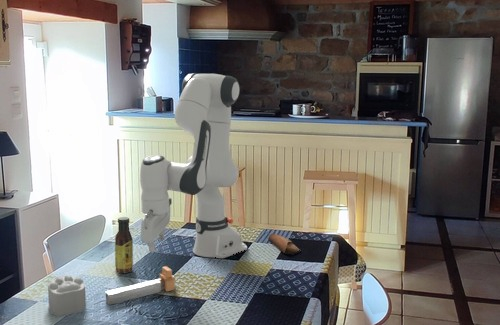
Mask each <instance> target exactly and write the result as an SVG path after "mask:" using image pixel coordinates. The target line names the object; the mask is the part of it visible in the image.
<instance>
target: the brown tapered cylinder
mask: <svg viewBox="0 0 500 325" xmlns="http://www.w3.org/2000/svg"><path fill="white" fill-rule="evenodd" d="M267 238H268V242H270V243H272V244H273V245H274V246H275V247H276V248H278V249H279V250H280V251H281V252H282V253H283V254H284V253H292V252H297V251H299V250H300V248H298V247H297V246H296V244H294V243H293V241H292V240H291V239H289V238H286V237H284V236H282V235H279V234H276V233H271V234H270V235H269V236H268V237H267Z"/></svg>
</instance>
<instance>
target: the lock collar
mask: <svg viewBox="0 0 500 325" xmlns="http://www.w3.org/2000/svg"><path fill="white" fill-rule="evenodd" d="M158 275H159V276H158V279H160V278H163V279H164V280H165V289H164V290H165V292H170V291H175V289H176V288H175V286H176V283H175V282H176V280H175V278H176V277H174V276H175V275H173V270H172V269H171V268H169V267H168V266H167V265H166V266H165V265H164V266H162V267H161V273H159V274H158ZM172 275H173V276H172Z"/></svg>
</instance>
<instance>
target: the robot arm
mask: <svg viewBox="0 0 500 325" xmlns="http://www.w3.org/2000/svg"><path fill="white" fill-rule="evenodd" d="M239 95H240V83H239V81H238V79H237V78H236V77H233V76H231V75H223V74H218V73H196V72H194V73H193V72H192V73H188V74H187V75H186V76H185V77H184V78H183V80H182V83H181V94H180V96H179V99H178V101H177V105H176V107H175V108H174V109H175V110H174V120H175V123H176V124H177V126H178V127H179V128H180V129H181V130H182V131H184V132H185V133H187V134H189V135H190V136H192V137H193V139H194V142H193V149H192V155H191V156H190V157H188V158H187V160H186V162H184V163H183V162H177V161H171V160H168V159H166V158H165V156H163V155H161V154H160V155H159V154H158V155H157V154H154V155H149V156H146V157H144V158H143V159H142V161H141V164H140V170H139V171H140V173H139V176H140V178H139V180H140V181H139V182H140V189H141V194H140V201H141V202H140V203H141V204H140V205H141V207H140V208H141V212H142V214H145V215H144V217H143V218H142V219H141V224H140V225H141V226H140V238H141V239H140V240H141V242H142V243H147V246H148V251H149V253H154V252H155V251H156V250H157V249H156V247H157V246H156V245H155V240H156V239H157V241H158V242H163V241H164V240H165V232H166V227H167V226H168V225H169V224H170V221H171V205H172V204H173V201H172V200H173V199H172V198H171V197H170V196H169V193H168V191H172V192H177V193H183V194H186V195H189V196H195V198H196V218H195V232H196V234H195V240H194V245H193V248H192V253H193V254H195V255H196V256H198V257H204V258H215V257H216V259H225V258H228V257H230V256H234V255H236V253H237V254H239V253H242V252H245V251H248V246H247V245H246V243H244V242H243V240H242V236H241V234H240V233H239V231H237V230H236V229H234V228H233V227H232V226H230V225H229V224H233V222H234V219H233V218H231V217H227V216H225V215H226V214H225V213H226V212H225V211H226V201H225V199H226V198H225V197H224V195H223V194H222V193H221V190H220V189H219V188H231V187H233V186H235V184H236V183H237V181H238V178H239V176H240V175H239V174H240V171H239V168H238V166H237V165H236V163H235V162H234V160H233V157H232V153H231V149H230V134H231V133H230V132H231V121H232V105H234V104H235V103H236V102H237V100H238V98H239ZM244 250H245V251H244ZM241 251H242V252H241ZM238 252H239V253H238ZM233 254H234V255H233Z"/></svg>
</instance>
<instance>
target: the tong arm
mask: <svg viewBox="0 0 500 325" xmlns="http://www.w3.org/2000/svg"><path fill="white" fill-rule="evenodd" d="M161 292H162V290H161V282H160V281H156V282H152V283H148V284H144V285H140V286H136V287H132V288H127V289H123V290H119V291H115V292H111V293H107V294H108V304H107V305H108V306H111V305H115V304H118V303H122V302H127V301H131V300H134V299H138V298H143V297H145V296H150V295H153V294H154V295H155V294H157V293H161Z"/></svg>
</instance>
